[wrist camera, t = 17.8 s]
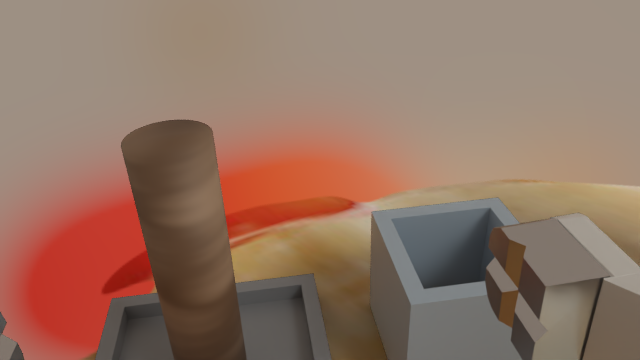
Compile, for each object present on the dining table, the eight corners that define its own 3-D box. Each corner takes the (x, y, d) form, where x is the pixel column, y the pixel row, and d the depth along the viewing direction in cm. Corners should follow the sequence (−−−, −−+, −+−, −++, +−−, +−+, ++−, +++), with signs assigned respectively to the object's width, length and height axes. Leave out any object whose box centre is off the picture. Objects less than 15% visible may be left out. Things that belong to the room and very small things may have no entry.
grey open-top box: (483, 289, 39) (498, 197, 35) (541, 385, 31) (569, 283, 27) (369, 304, 38) (371, 211, 34) (403, 407, 30) (411, 304, 26)
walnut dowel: (247, 348, 34) (213, 116, 26) (250, 402, 30) (211, 153, 22) (183, 357, 33) (128, 124, 25) (179, 413, 30) (113, 163, 22)
